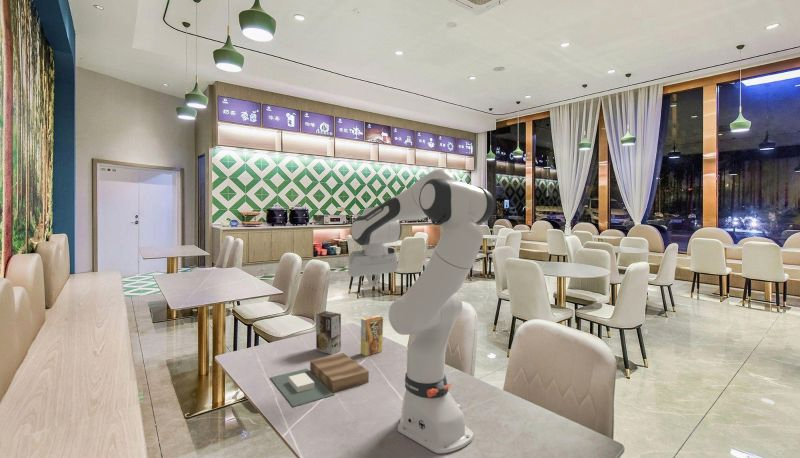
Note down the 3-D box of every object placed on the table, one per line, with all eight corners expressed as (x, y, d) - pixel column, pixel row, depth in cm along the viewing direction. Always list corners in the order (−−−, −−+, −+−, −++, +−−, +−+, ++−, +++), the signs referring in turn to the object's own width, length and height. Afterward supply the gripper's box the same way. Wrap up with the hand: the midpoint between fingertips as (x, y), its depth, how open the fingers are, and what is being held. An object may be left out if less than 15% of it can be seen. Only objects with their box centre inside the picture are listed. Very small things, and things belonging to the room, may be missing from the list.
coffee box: (341, 350, 170) (341, 313, 169) (331, 355, 165) (331, 317, 164) (325, 345, 175) (325, 310, 174) (315, 350, 170) (315, 313, 169)
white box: (297, 386, 132) (297, 392, 132) (314, 382, 135) (314, 387, 135) (288, 376, 139) (288, 382, 139) (304, 372, 142) (304, 378, 143)
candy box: (377, 348, 173) (377, 314, 172) (382, 351, 170) (383, 316, 168) (360, 353, 167) (360, 318, 166) (365, 356, 164) (366, 320, 163)
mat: (334, 395, 131) (334, 394, 131) (293, 407, 123) (293, 406, 123) (306, 369, 151) (306, 368, 151) (270, 378, 143) (270, 377, 143)
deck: (368, 381, 141) (368, 371, 141) (332, 392, 133) (332, 380, 133) (343, 362, 157) (343, 353, 157) (310, 370, 149) (310, 360, 149)
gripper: (353, 252, 139) (353, 290, 140) (399, 248, 151) (399, 284, 152) (344, 250, 144) (344, 287, 145) (390, 247, 156) (390, 281, 157)
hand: (373, 286), depth 148 cm, fingers closed
